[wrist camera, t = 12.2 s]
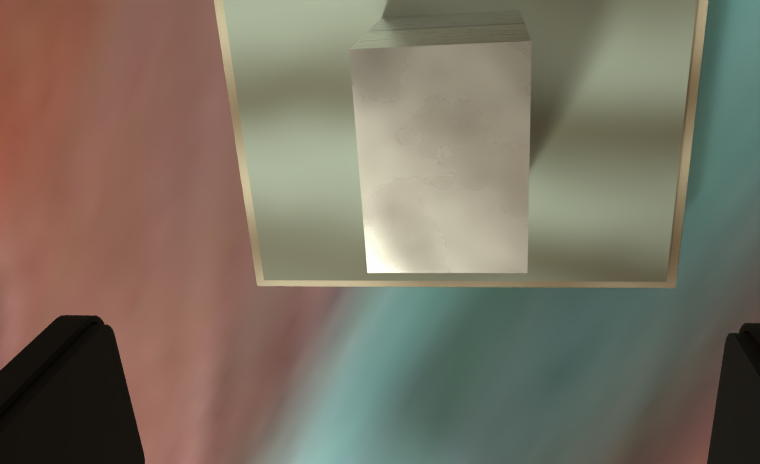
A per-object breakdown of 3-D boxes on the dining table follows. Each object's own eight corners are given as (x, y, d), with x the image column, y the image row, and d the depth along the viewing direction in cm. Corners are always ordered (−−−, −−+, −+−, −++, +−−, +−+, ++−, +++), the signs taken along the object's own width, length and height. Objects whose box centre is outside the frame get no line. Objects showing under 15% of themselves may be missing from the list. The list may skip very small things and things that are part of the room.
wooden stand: (656, 250, 33) (677, 292, 29) (278, 251, 35) (254, 290, 32) (695, -140, 26) (729, -149, 23) (230, -103, 29) (193, -106, 25)
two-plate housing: (519, 10, 25) (531, 40, 19) (517, 192, 28) (527, 272, 22) (381, 17, 26) (348, 49, 20) (392, 194, 29) (367, 273, 23)
